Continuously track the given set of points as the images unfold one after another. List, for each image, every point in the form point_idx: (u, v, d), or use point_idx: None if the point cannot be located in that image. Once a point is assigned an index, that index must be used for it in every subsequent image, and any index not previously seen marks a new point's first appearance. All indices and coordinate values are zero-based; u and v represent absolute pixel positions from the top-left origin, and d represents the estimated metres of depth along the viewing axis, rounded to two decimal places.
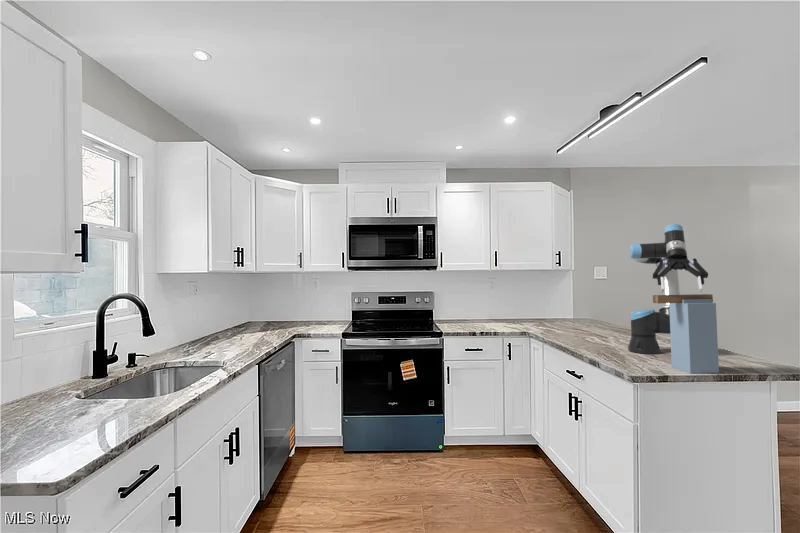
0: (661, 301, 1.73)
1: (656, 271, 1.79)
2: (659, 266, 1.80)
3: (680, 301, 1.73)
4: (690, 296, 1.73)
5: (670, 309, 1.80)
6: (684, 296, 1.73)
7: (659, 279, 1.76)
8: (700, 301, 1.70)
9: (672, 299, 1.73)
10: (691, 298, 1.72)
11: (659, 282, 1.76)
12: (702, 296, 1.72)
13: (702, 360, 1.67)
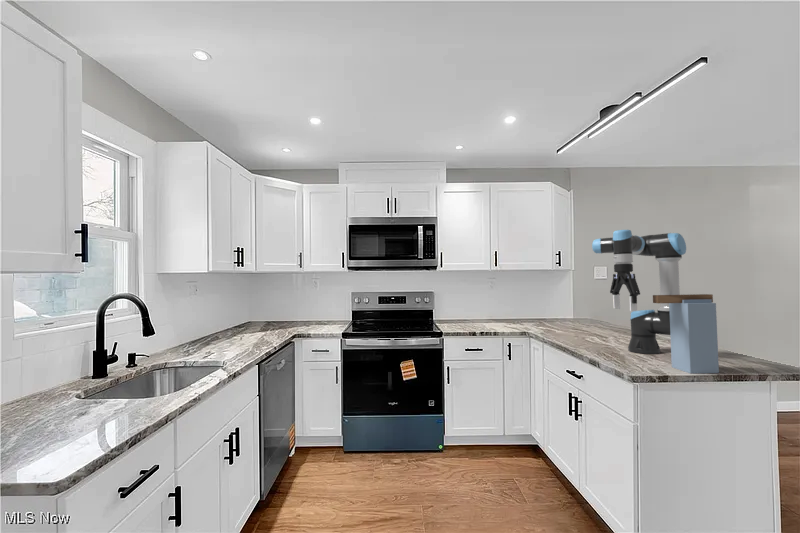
0: (661, 301, 1.73)
1: (611, 288, 1.87)
2: (612, 282, 1.86)
3: (680, 301, 1.73)
4: (690, 296, 1.72)
5: (670, 309, 1.80)
6: (684, 296, 1.73)
7: None
8: (700, 301, 1.70)
9: (672, 299, 1.73)
10: (691, 298, 1.72)
11: None
12: (702, 296, 1.72)
13: (702, 360, 1.67)
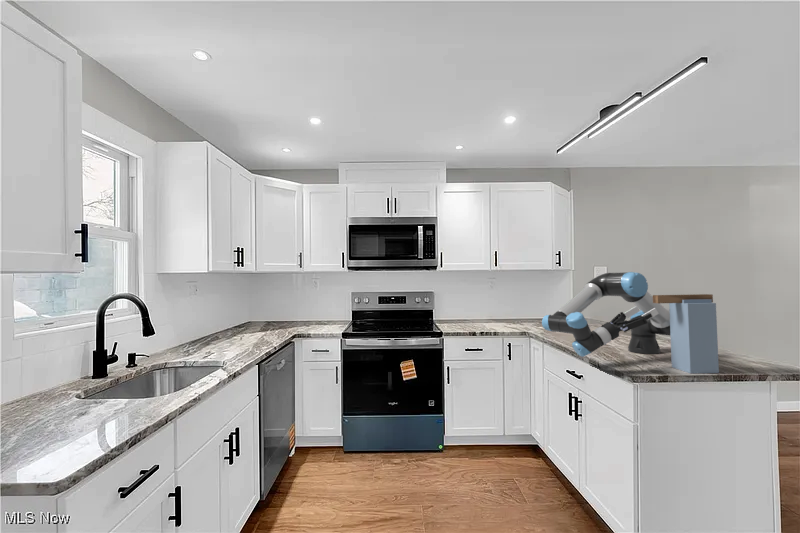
0: (661, 301, 1.73)
1: None
2: None
3: (680, 301, 1.73)
4: (690, 296, 1.72)
5: (670, 309, 1.80)
6: (684, 296, 1.73)
7: None
8: (700, 301, 1.70)
9: (672, 299, 1.73)
10: (691, 298, 1.72)
11: None
12: (702, 296, 1.72)
13: (702, 360, 1.67)
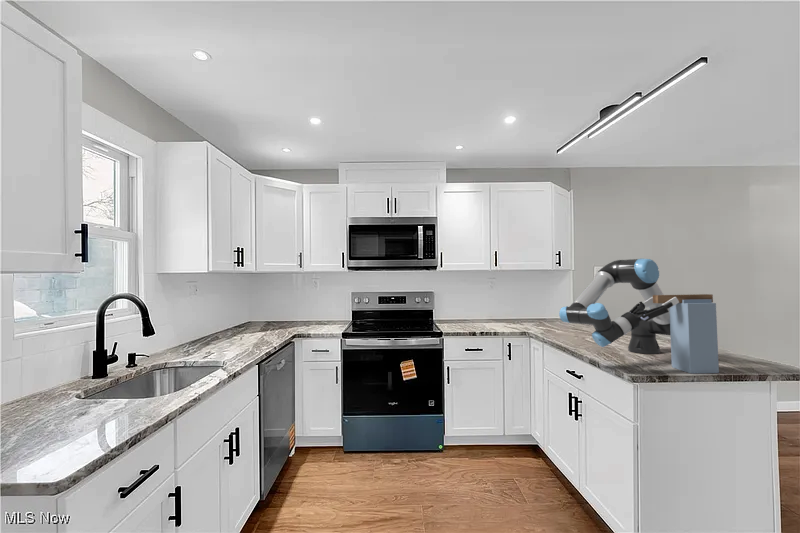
0: (661, 301, 1.73)
1: None
2: None
3: (680, 301, 1.73)
4: (690, 296, 1.72)
5: (670, 309, 1.80)
6: (684, 296, 1.73)
7: None
8: (700, 301, 1.70)
9: None
10: (691, 298, 1.72)
11: None
12: (702, 296, 1.72)
13: (702, 360, 1.67)
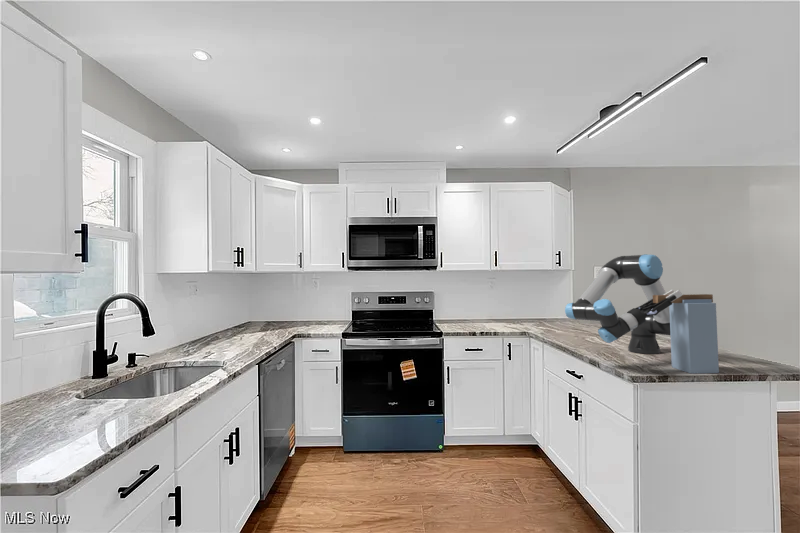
0: None
1: None
2: None
3: (680, 301, 1.72)
4: (690, 296, 1.72)
5: (670, 309, 1.80)
6: (684, 296, 1.73)
7: None
8: (700, 301, 1.70)
9: None
10: (691, 298, 1.72)
11: None
12: (702, 296, 1.72)
13: (702, 360, 1.67)
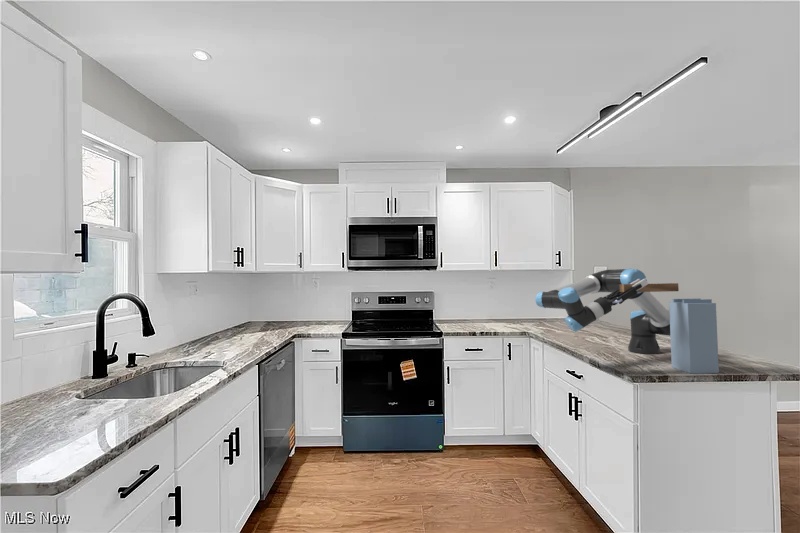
0: None
1: None
2: None
3: (646, 290, 1.73)
4: (656, 285, 1.73)
5: (670, 309, 1.80)
6: (650, 285, 1.73)
7: None
8: (700, 301, 1.70)
9: None
10: (657, 287, 1.73)
11: None
12: (668, 285, 1.73)
13: (702, 360, 1.67)
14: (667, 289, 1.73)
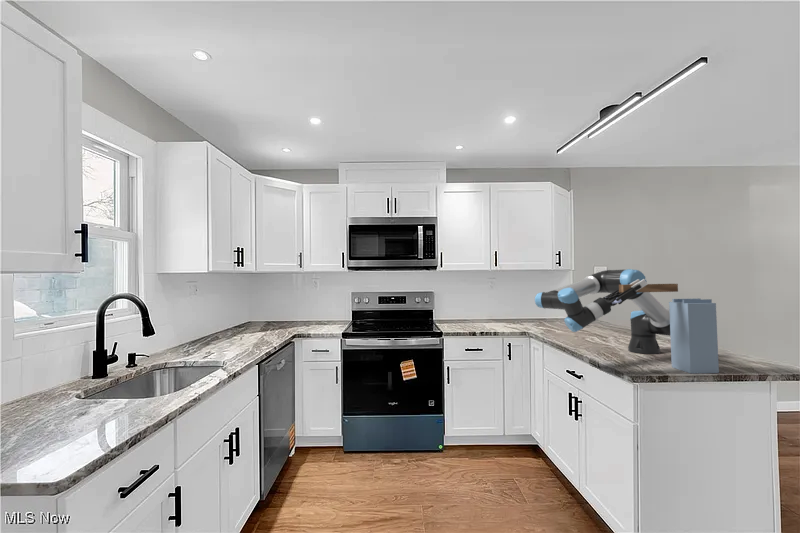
0: None
1: None
2: None
3: (645, 290, 1.73)
4: (655, 285, 1.73)
5: (670, 309, 1.80)
6: (649, 285, 1.73)
7: None
8: (700, 301, 1.70)
9: None
10: (656, 287, 1.73)
11: None
12: (667, 285, 1.73)
13: (702, 360, 1.67)
14: (666, 289, 1.73)
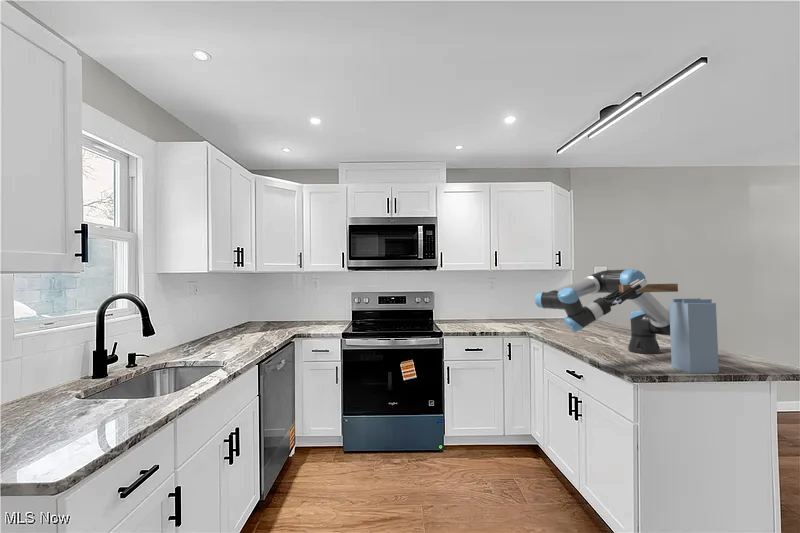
0: None
1: None
2: None
3: (645, 290, 1.73)
4: (655, 285, 1.73)
5: (670, 309, 1.80)
6: (649, 285, 1.73)
7: None
8: (700, 301, 1.70)
9: None
10: (656, 287, 1.73)
11: None
12: (667, 285, 1.73)
13: (702, 360, 1.67)
14: (666, 289, 1.73)
